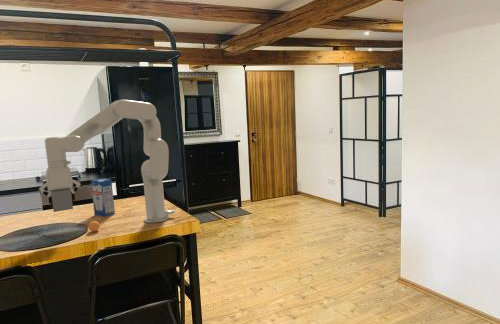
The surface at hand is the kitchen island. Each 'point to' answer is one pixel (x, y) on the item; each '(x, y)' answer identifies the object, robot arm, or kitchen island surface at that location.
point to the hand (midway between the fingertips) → (62, 203)
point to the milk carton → (102, 197)
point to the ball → (94, 226)
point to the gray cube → (61, 200)
